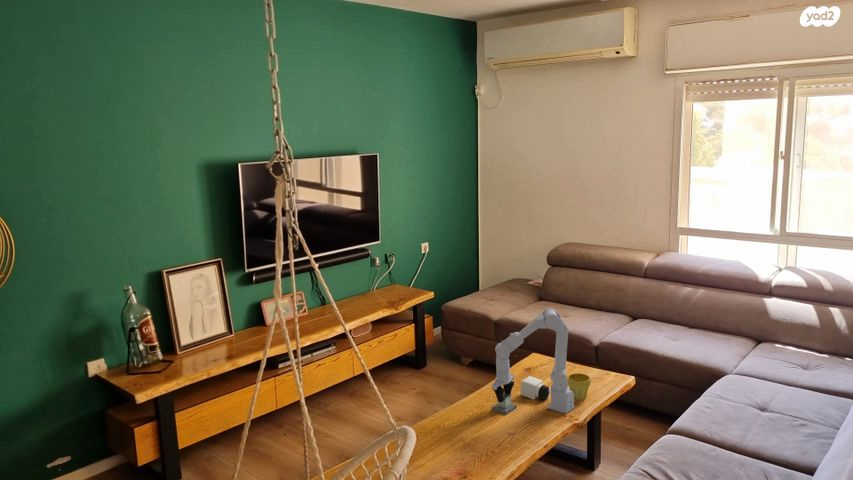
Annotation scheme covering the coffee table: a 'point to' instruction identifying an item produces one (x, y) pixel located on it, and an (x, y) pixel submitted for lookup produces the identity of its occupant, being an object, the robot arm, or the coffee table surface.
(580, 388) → the plant pot
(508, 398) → the grey green cube
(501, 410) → the block
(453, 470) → the coffee table surface
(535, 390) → the medicine bottle
